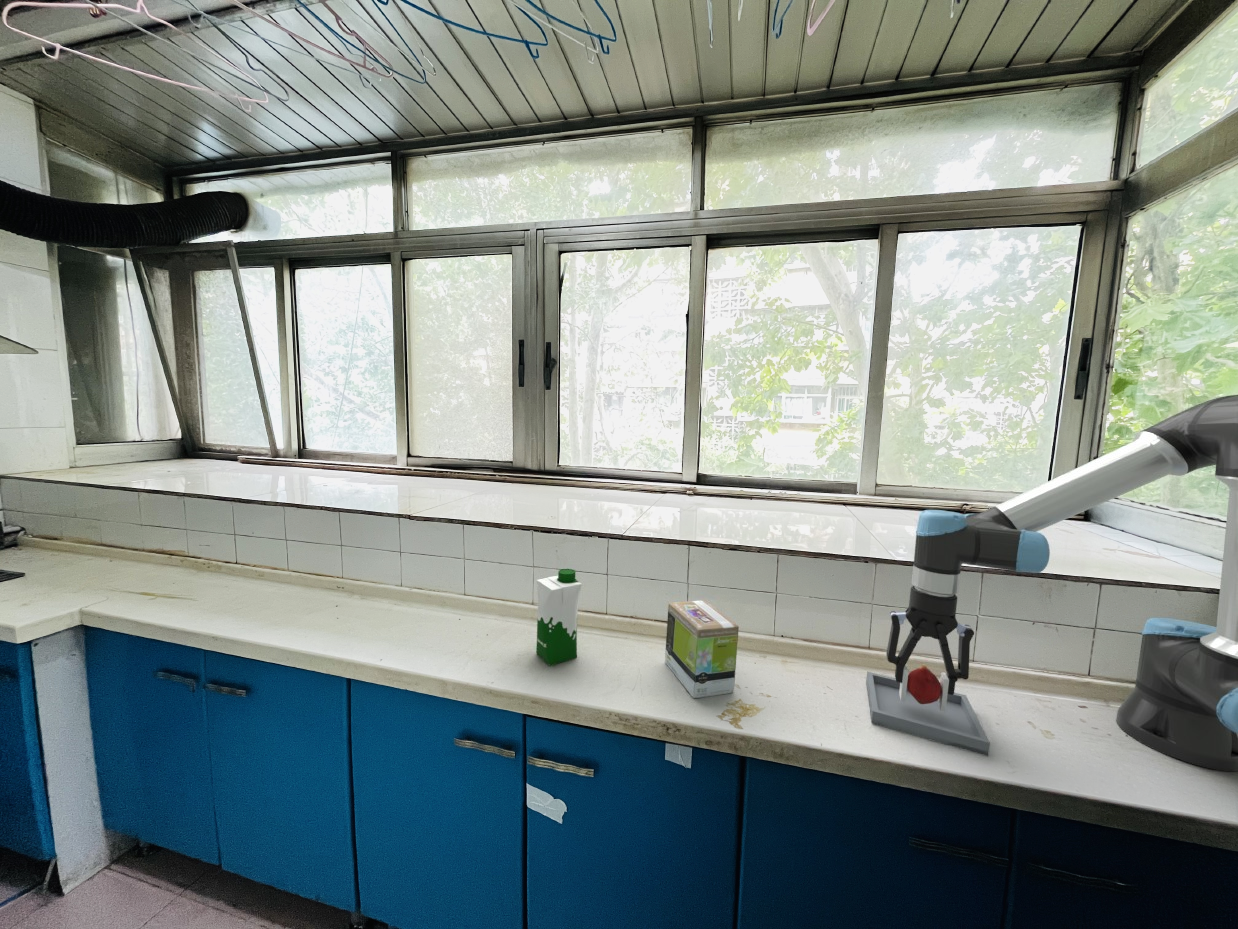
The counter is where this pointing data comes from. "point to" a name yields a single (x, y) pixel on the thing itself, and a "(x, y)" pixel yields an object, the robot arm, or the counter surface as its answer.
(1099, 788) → the counter surface
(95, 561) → the counter surface
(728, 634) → the tea box
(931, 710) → the tray
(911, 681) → the onion
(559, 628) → the milk carton
